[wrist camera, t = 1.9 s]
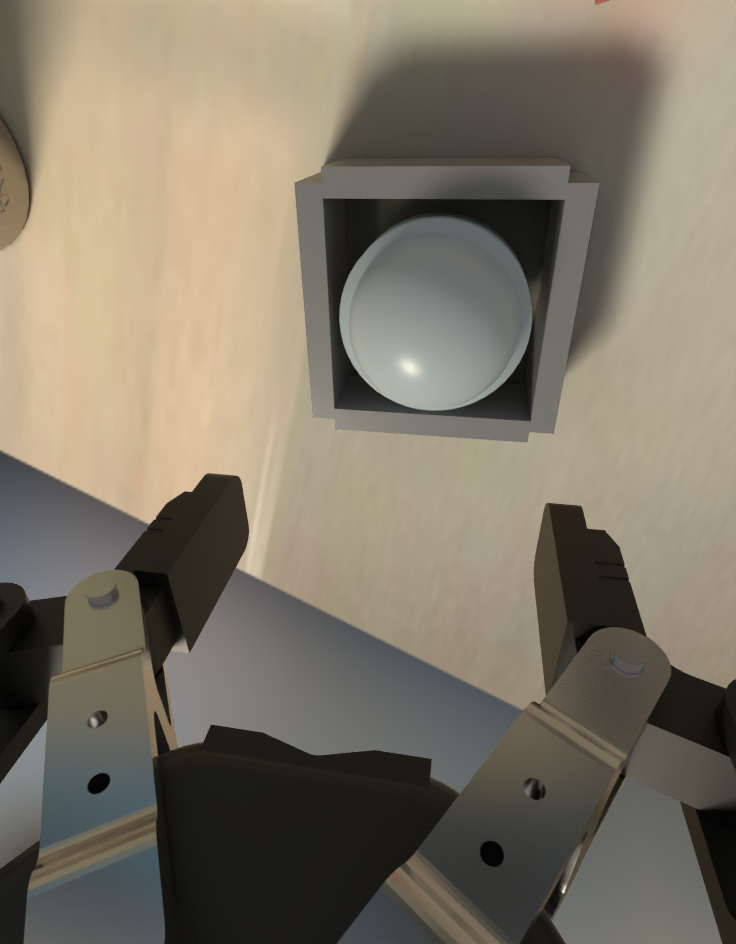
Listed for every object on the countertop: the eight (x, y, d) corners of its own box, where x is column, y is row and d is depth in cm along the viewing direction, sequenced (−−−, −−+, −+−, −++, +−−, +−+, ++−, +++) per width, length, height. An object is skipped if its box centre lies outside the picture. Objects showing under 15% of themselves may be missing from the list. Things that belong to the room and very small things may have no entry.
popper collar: (332, 392, 34) (313, 427, 30) (319, 158, 27) (293, 166, 24) (544, 405, 32) (551, 444, 29) (585, 156, 26) (602, 165, 22)
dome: (357, 375, 32) (325, 442, 25) (352, 206, 27) (311, 237, 21) (515, 383, 30) (523, 456, 24) (538, 207, 26) (556, 241, 19)
